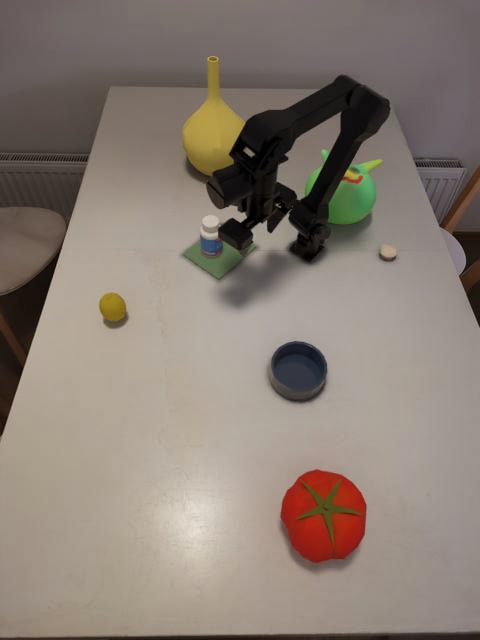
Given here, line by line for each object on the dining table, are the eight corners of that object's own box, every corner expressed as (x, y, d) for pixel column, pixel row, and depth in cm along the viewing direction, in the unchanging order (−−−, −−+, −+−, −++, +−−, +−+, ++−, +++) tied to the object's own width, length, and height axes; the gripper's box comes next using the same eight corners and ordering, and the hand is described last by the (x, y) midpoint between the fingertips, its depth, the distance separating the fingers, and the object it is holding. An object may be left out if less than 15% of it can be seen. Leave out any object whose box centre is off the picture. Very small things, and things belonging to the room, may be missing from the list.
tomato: (357, 487, 77) (376, 470, 68) (350, 576, 70) (370, 572, 60) (285, 469, 79) (292, 451, 69) (270, 555, 71) (276, 548, 62)
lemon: (124, 329, 95) (116, 309, 88) (100, 325, 95) (90, 304, 89) (132, 309, 98) (125, 288, 91) (109, 305, 98) (100, 283, 92)
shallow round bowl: (291, 342, 94) (293, 331, 90) (333, 373, 90) (338, 363, 86) (258, 377, 89) (259, 367, 85) (302, 411, 85) (305, 402, 81)
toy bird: (293, 223, 114) (301, 177, 101) (312, 184, 122) (321, 138, 110) (360, 243, 110) (376, 198, 98) (374, 202, 119) (391, 155, 107)
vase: (259, 160, 128) (266, 54, 103) (225, 195, 119) (223, 88, 94) (208, 139, 133) (203, 33, 108) (172, 171, 124) (157, 64, 99)
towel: (220, 224, 113) (220, 223, 113) (255, 247, 109) (256, 246, 108) (183, 255, 107) (182, 253, 107) (218, 280, 103) (218, 278, 102)
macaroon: (381, 262, 107) (384, 256, 105) (374, 248, 109) (377, 241, 107) (397, 260, 107) (401, 253, 105) (390, 245, 110) (393, 238, 108)
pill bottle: (220, 259, 106) (220, 231, 98) (199, 257, 106) (196, 228, 98) (224, 243, 109) (223, 214, 101) (203, 241, 109) (201, 211, 101)
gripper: (258, 145, 87) (255, 204, 100) (194, 191, 79) (199, 249, 92) (303, 168, 83) (293, 227, 96) (240, 219, 75) (239, 276, 88)
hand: (256, 243), depth 93 cm, fingers open, 9 cm apart
